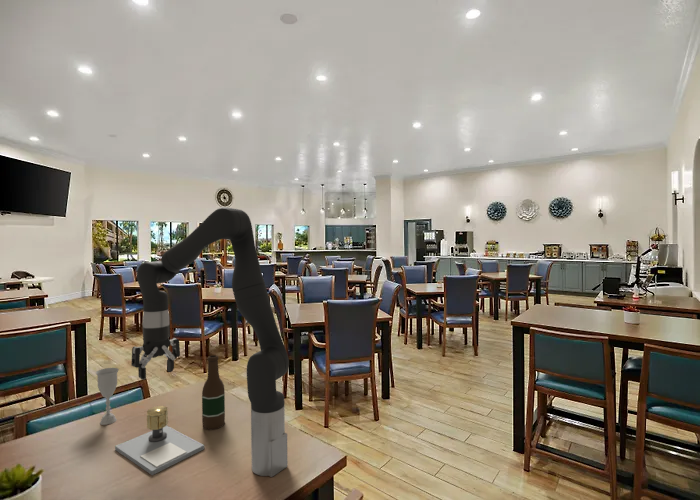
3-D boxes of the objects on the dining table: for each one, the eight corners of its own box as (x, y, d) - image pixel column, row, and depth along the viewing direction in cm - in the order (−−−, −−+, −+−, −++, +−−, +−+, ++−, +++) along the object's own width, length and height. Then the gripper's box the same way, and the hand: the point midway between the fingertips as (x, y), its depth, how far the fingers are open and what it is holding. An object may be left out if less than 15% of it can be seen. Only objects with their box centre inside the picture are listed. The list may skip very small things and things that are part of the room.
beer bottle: (229, 419, 135) (228, 353, 134) (219, 430, 127) (218, 360, 126) (208, 419, 136) (207, 352, 135) (197, 429, 128) (196, 359, 127)
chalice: (123, 420, 135) (122, 370, 135) (102, 428, 129) (101, 375, 129) (113, 415, 139) (112, 366, 138) (92, 422, 133) (91, 371, 133)
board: (204, 448, 116) (204, 419, 116) (152, 475, 103) (151, 442, 103) (166, 428, 129) (165, 401, 128) (115, 449, 116) (114, 420, 115)
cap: (172, 424, 121) (172, 409, 120) (154, 432, 116) (153, 416, 116) (160, 418, 125) (160, 403, 124) (142, 426, 120) (142, 410, 120)
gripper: (138, 330, 112) (139, 384, 112) (184, 321, 123) (184, 371, 124) (126, 327, 116) (127, 379, 116) (171, 319, 127) (172, 366, 128)
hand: (157, 375), depth 120 cm, fingers open, 8 cm apart
